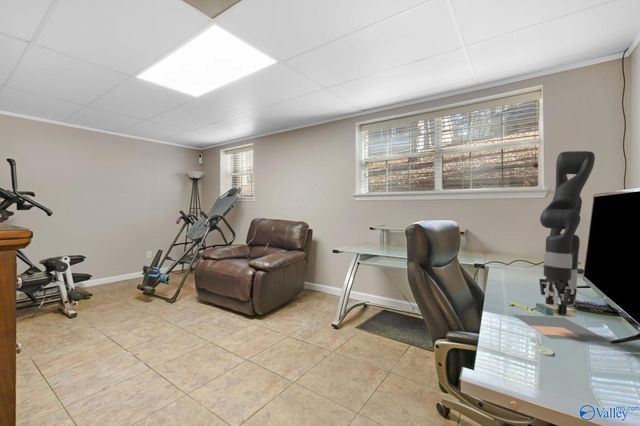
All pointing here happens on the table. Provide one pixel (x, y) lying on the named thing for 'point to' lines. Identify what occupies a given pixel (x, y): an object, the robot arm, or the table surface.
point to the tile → (554, 310)
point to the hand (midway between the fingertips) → (555, 311)
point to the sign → (542, 350)
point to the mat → (560, 328)
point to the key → (522, 307)
